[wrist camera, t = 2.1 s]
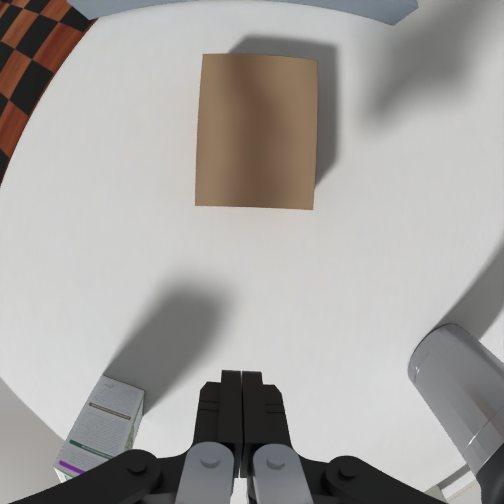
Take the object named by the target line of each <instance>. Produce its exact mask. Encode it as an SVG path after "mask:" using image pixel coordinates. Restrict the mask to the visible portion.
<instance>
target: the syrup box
mask: <svg viewBox="0 0 504 504" xmlns="http://www.w3.org/2000/svg"><path fill="white" fill-rule="evenodd" d="M144 393H145V392H144V391H143V390H141V389H138V388H136V387H133V386H131V385H128V384H125V383H122V382H119V381H117V380H114V379H111V378H109V377H106V376H103V375H102V376H101V377H100V379H99V381H98V382H97V384H96V386H95V387H94V389H93V391H92V392H91V394H90V396H89V398H88V399H87V401H86V403H85V405H84V406H83V408H82V410H81V412H80V414H79V416H78V418H77V420H76V421H75V423H74V425H73V427H72V429H71V431H70V433H69V435H68V437H67V439H66V441H65V443H64V445H63V447H62V449H61V451H60V453H59V455H58V457H57V459H56V461H55V463H54V469H55V471H56V473H57V475H58V477H59V479H60V481H61V483H63V482H65V481H67V480H69V479H72V478H74V477H76V476H78V475H80V474H82V473H84V472H86V471H88V470H90V469H92V468H94V467H96V466H98V465H100V464H102V463H104V462H106V461H108V460H110V459H112V458H113V457H115V456H117V455H119V454H121V453H123V452H125V451H127V450H132V447H133V444H134V441H135V438H136V435H137V432H138V428H139V425H140V422H141V419H142V412H143V402H144Z"/></svg>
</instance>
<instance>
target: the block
mask: <svg viewBox="0 0 504 504" xmlns="http://www.w3.org/2000/svg"><path fill="white" fill-rule="evenodd" d="M317 93H318V77H317V60H310V59H303V58H295V57H285V56H274V55H259V54H203V60H202V71H201V83H200V96H199V111H198V129H197V151H196V184H195V206H229V207H260V208H284V209H303V210H313V203H314V186H315V167H316V143H317Z"/></svg>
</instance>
